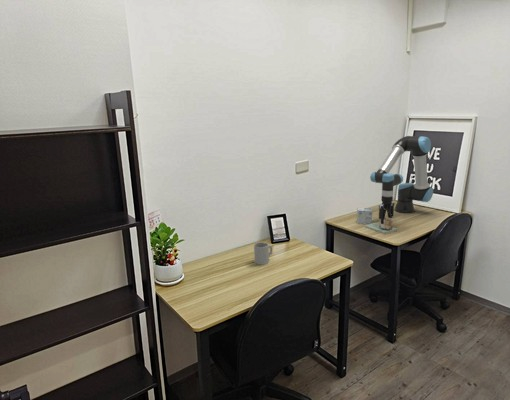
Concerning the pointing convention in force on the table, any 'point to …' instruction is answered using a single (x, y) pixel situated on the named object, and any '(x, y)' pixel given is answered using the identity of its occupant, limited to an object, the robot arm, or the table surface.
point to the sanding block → (387, 224)
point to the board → (376, 227)
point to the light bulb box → (364, 215)
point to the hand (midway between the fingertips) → (385, 227)
